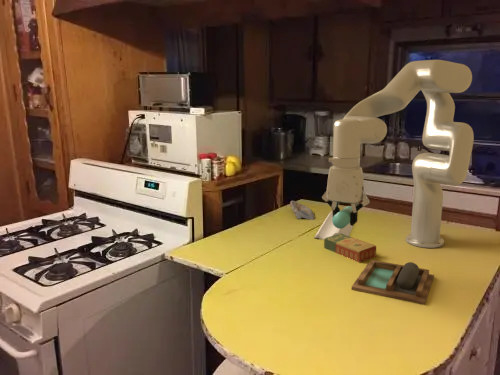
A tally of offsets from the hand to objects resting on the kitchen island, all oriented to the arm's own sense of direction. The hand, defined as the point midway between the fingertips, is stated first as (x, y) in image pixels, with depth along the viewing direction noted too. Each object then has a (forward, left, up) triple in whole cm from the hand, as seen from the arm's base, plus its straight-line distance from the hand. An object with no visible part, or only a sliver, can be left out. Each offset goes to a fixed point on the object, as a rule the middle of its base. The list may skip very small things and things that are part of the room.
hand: (344, 222), depth 129 cm
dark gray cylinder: (+3, +19, -14) cm, 24 cm away
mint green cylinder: (0, 0, -1) cm, 1 cm away
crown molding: (-38, -14, -16) cm, 44 cm away
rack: (+3, +15, -15) cm, 22 cm away
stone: (-48, -33, -16) cm, 61 cm away
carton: (-15, -3, -16) cm, 22 cm away
